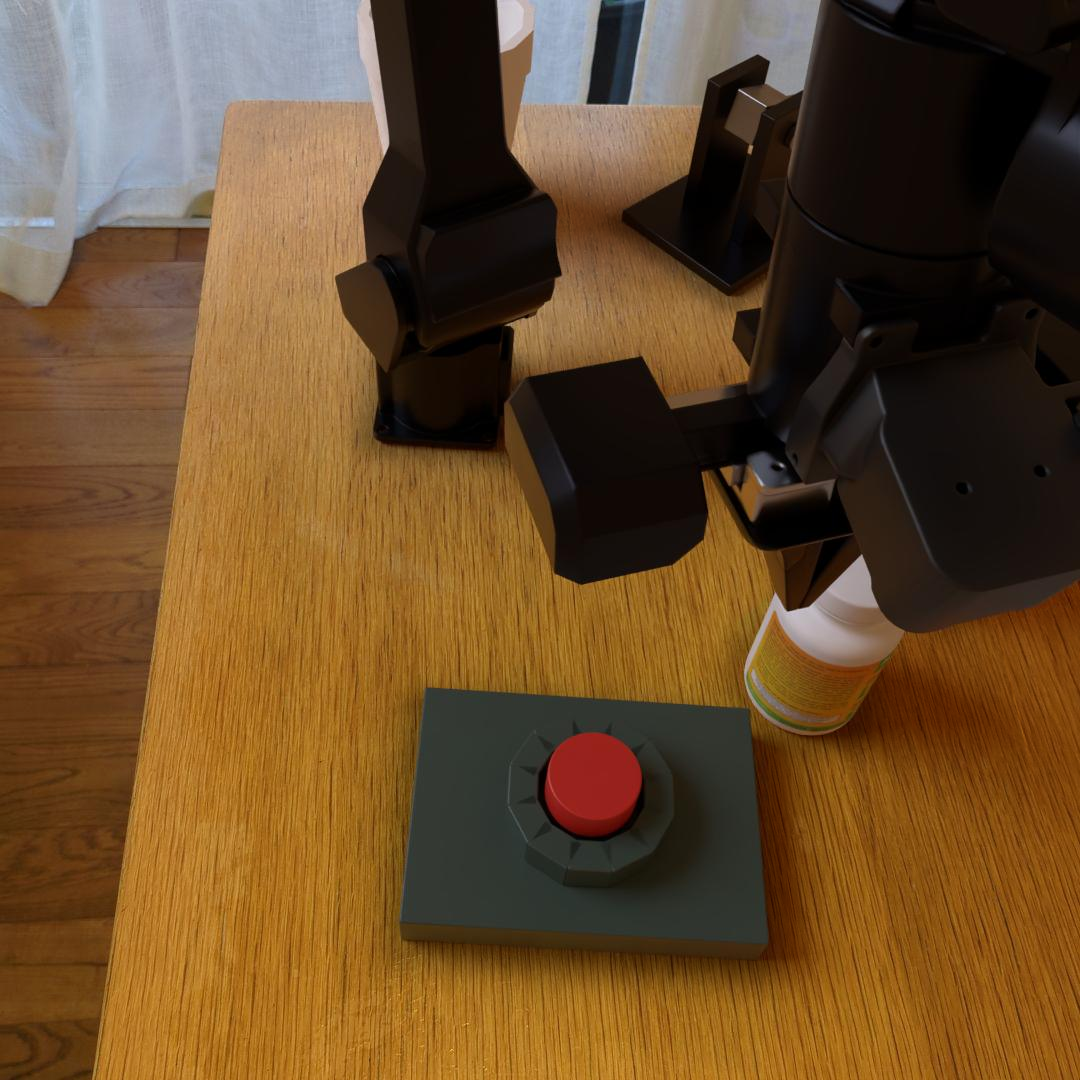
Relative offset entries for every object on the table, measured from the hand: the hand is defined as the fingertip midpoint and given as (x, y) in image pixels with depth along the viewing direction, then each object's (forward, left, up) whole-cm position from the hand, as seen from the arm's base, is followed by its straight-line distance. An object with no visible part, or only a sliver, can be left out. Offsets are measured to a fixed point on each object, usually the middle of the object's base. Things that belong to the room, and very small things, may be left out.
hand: (791, 600), depth 38 cm
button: (-6, -3, -10) cm, 12 cm away
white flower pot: (-15, +36, -13) cm, 41 cm away
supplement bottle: (+4, +4, -13) cm, 15 cm away
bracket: (+3, +37, -13) cm, 40 cm away
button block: (-6, -3, -13) cm, 15 cm away
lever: (+6, +40, -8) cm, 41 cm away
